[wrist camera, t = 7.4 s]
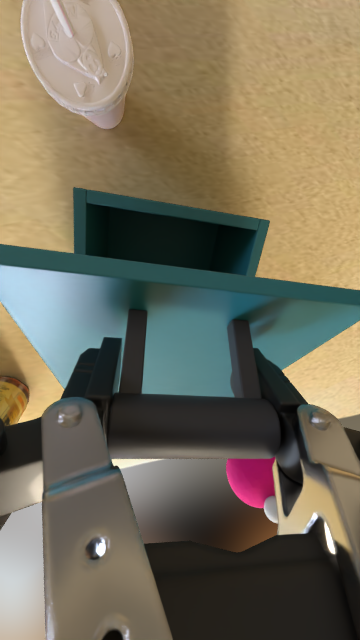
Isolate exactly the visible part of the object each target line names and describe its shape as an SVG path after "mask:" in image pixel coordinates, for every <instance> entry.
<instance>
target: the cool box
mask: <svg viewBox="0 0 360 640" xmlns="http://www.w3.org/2000/svg"><path fill="white" fill-rule="evenodd" d="M73 198H74V254H81V255H89V256H97V257H105V258H112V259H120V260H128V261H136V262H143V263H151V264H159V265H167V266H175V267H182V268H190V269H198V270H206V271H213V272H221V273H229V274H237V275H244V276H252V277H255V275H256V271H257V267H258V264H259V260H260V256H261V253H262V249H263V245H264V242H265V238H266V234H267V231H268V227H269V223H270V221H269V220H264V219H258V218H252V217H246V216H240V215H234V214H229V213H223V212H217V211H211V210H205V209H199V208H193V207H188V206H182V205H176V204H170V203H164V202H158V201H152V200H147V199H141V198H135V197H129V196H123V195H117V194H111V193H106V192H100V191H94V190H87V189H82V188H76V187H74V188H73Z"/></svg>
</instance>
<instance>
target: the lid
mask: <svg viewBox="0 0 360 640" xmlns="http://www.w3.org/2000/svg"><path fill="white" fill-rule="evenodd" d="M0 302H1V303H2V305H3V306H4V307H5V309H6V310H7V312H8V313H9V314H10V316H11V317H12V318H13V320H14V321H15V322H16V324H17V325H18V327H19V328H20V329H21V331H22V332H23V333H24V335H25V336H26V337H27V339H28V340H29V342H30V343H31V344H32V346H33V347H34V348H35V350H36V351H37V352H38V354H39V355H40V357H41V358H42V359H43V361H44V362H45V363H46V365H47V366H48V368H49V369H50V370H51V372H52V373H53V374H54V376H55V377H56V378H57V380H58V381H59V383H60V384H61V385H62V387H63V388H64V389H65V388H66V386H67V383H68V381H69V379H70V377H71V374H72V372H73V370H74V368H75V365H76V364H77V361H78V359H79V357H80V355H81V354H82V353H83V352H84V351H86V350H87V349H88V348H99V349H100V347H101V344H102V341H103V338H104V337H115V338H122V354H121V370H120V380H119V387H118V392H116V393H114V395H113V397H112V402H111V407H110V414H109V421H108V429H107V439H106V443H107V447H108V450H109V454H110V457H111V459H270V458H273V457H274V456H275V455H276V454H277V453H278V451H279V448H280V444H281V427H280V421H279V418H278V415H277V412H276V410H275V408H274V406H273V405H272V404H271V403H270V402H269V401H268V400H266V399H262V396H261V391H260V385H259V379H258V373H257V368H256V362H255V356H254V350H253V348H258V349H259V350H260V351H261V353H262V354H263V355H264V357H265V358H266V359H268V360H270V361H271V362H272V363H274V364H275V365H277V366H278V367H279V368H280V370H283V369H284V368H286V367H288V366H289V365H291V364H292V363H294V362H295V361H297V360H298V359H300V358H302V357H303V356H305V355H306V354H308V353H309V352H311V351H313V350H314V349H316V348H317V347H319V346H320V345H322V344H324V343H325V342H327V341H328V340H330V339H331V338H333V337H334V336H336V335H338V334H339V333H341V332H342V331H344V330H345V329H347V328H349V327H350V326H352V325H353V324H355V323H356V322H358V321H360V290H353V289H345V288H338V287H330V286H322V285H314V284H306V283H299V282H291V281H283V280H275V279H268V278H260V277H252V276H244V275H237V274H229V273H221V272H213V271H206V270H198V269H190V268H182V267H175V266H167V265H159V264H151V263H143V262H136V261H128V260H120V259H112V258H105V257H97V256H89V255H81V254H74V253H66V252H58V251H50V250H43V249H35V248H27V247H19V246H12V245H4V244H0ZM231 373H232V375H233V383H234V391H235V396H234V394H233V392H232V389H231V385H230V377H231Z"/></svg>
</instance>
